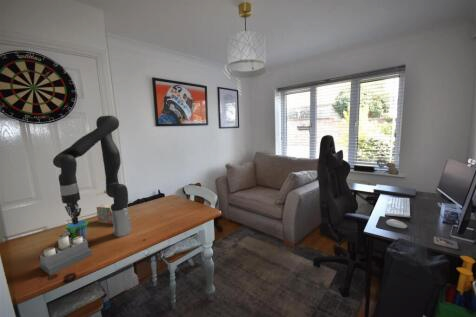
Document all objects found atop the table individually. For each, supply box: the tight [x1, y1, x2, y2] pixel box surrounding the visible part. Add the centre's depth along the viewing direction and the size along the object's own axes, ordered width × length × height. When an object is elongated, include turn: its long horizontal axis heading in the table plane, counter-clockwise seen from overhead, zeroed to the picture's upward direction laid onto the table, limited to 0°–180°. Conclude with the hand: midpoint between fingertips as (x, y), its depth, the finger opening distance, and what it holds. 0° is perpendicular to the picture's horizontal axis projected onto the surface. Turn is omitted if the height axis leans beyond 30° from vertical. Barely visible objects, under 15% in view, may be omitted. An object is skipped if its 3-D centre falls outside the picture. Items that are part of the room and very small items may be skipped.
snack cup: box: [65, 220, 88, 242], centre depth 131 cm, size 16×10×10 cm
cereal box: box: [95, 203, 113, 225], centre depth 155 cm, size 21×6×12 cm, turn 76°
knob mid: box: [57, 236, 70, 251], centre depth 108 cm, size 4×4×6 cm
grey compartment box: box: [38, 238, 93, 276], centre depth 109 cm, size 18×12×8 cm, turn 150°
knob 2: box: [73, 236, 83, 245], centre depth 114 cm, size 4×4×6 cm
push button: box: [59, 231, 72, 243], centre depth 120 cm, size 7×5×10 cm
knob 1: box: [43, 247, 56, 258], centre depth 104 cm, size 4×4×6 cm
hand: (75, 223), depth 112 cm, fingers closed
